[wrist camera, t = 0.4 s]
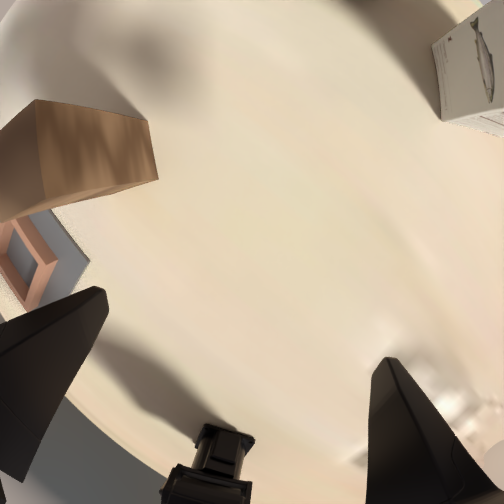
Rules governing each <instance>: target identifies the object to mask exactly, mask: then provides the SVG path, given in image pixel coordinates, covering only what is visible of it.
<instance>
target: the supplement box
mask: <svg viewBox="0 0 504 504" xmlns="http://www.w3.org/2000/svg"><path fill="white" fill-rule="evenodd" d="M431 47H432V51H433V55H434V59H435V64H436V69H437V75H438V83H439V92H440V103H441V121H442V122H447V123H451V124H455V125H459V126H463V127H467V128H470V129H474V130H477V131H481V132H484V133H487V134H490V135H493V136H496V137H504V0H492V1H490V2H489V3H487V4H486V5H484V6H483V7H482V8H480V9H479V10H477V11H476V12H475V13H473V14H472V15H471V16H469V17H468V18H467V19H465V20H464V21H463V22H461V23H460V24H459V25H457V26H456V27H455V28H453V29H452V30H451V31H449V32H448V33H447V34H445V35H444V36H443V37H441V38H440V39H439V40H438V41H436V42H435V43H434V44H433V45H432V46H431Z"/></svg>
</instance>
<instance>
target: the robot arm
mask: <svg viewBox="0 0 504 504" xmlns="http://www.w3.org/2000/svg"><path fill="white" fill-rule="evenodd" d="M108 313H109V305H108V300H107V294H106V291H105V290H104V289H103V288H100V287H97V286H92V287H90V288H87V289H85V290H82V291H79V292H77V293H74V294H72V295H69V296H67V297H64V298H62V299H59V300H57V301H55V302H52V303H50V304H47V305H45V306H42V307H40V308H37V309H35V310H33V311H30V312H28V313H25V314H23V315H21V316H18V317H16V318H13V319H11V320H9V321H8V322H7V321H6V322H4V323H2V324H0V470H1V471H3V472H4V473H6V474H8V475H9V476H11V477H12V478H14V479H16V480H18V481H19V482H21V483H23V481H24V479H25V477H26V474H27V472H28V470H29V467H30V465H31V463H32V460H33V458H34V456H35V454H36V451H37V449H38V447H39V445H40V443H41V440H42V438H43V436H44V434H45V432H46V430H47V428H48V426H49V424H50V422H51V420H52V418H53V416H54V414H55V412H56V410H57V408H58V406H59V405H60V403H61V401H62V399H63V397H64V395H65V394H66V392H67V390H68V388H69V386H70V385H71V383H72V381H73V379H74V378H75V376H76V374H77V372H78V371H79V369H80V367H81V365H82V364H83V362H84V360H85V359H86V357H87V355H88V354H89V352H90V350H91V348H92V346H93V344H94V342H95V340H96V338H97V336H98V334H99V332H100V330H101V328H102V326H103V324H104V322H105V320H106V318H107V316H108ZM254 444H255V439H253V438H250V437H247V436H243V435H240V434H236V433H233V432H230V431H227V430H224V429H221V428H218V427H215V426H212V425H209V424H204V425H203V428H202V430H201V432H200V435H199V437H198V440H197V442H196V444H195V448H196V449H198V450H197V453H196V455H195V458H194V461H193V464H192V467H191V468H189V467H186V466H183V465H182V464H179V463H178V464H177V466H176V467H175V468H172V470H171V472H170V475H169V477H168V479H167V480H166V482H165V483H164V484H163V486H162V487H161V489H160V490H159V494H160V495H161V500H162V501H161V504H250V499H251V490H252V481H242V480H239V478H240V474H241V469H242V464H243V460H244V457H245V456H246V454H247V453H248V452H249V450H250V449H251V448H252V446H253V445H254ZM5 503H6V498H5V494H4V491H3V487H2V483H1V479H0V504H5ZM365 504H504V491H502V490H501V489H499V488H498V487H497V486H496V485H495V484H494V483H493V482H492V481H491V480H490V479H489V477H488V476H487V475H486V474H485V473H484V471H483V470H482V469H481V468H480V466H479V465H478V464H477V463H476V462H475V460H474V459H473V458H472V457H471V455H470V454H469V453H468V452H467V450H466V449H465V447H464V446H463V445H462V443H461V442H460V441H459V439H458V438H457V436H455V434H454V432H453V431H452V430H451V428H450V427H449V425H448V424H447V423H446V421H445V420H444V419H443V417H442V416H441V415H440V413H439V412H438V410H437V409H436V408H435V406H434V405H433V404H432V402H431V401H430V400H429V399H428V397H427V396H426V395H425V393H424V392H423V391H422V389H421V388H420V387H419V386H418V384H417V383H416V382H415V380H414V379H413V378H412V377H411V375H410V374H409V373H408V371H407V370H406V369H405V368H404V366H403V365H402V364H401V363H400V361H399V360H398V359H397V358H393V357H385V358H383V359H382V361H381V362H380V364H379V365H378V367H377V368H376V370H375V371H374V372H373V375H372V378H371V393H370V406H369V418H368V473H367V491H366V503H365Z"/></svg>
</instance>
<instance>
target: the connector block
mask: <svg viewBox="0 0 504 504" xmlns="http://www.w3.org/2000/svg"><path fill="white" fill-rule="evenodd" d="M158 179H159V178H158V173H157V169H156V164H155V159H154V153H153V148H152V143H151V137H150V132H149V126H148V121H144V120H141V119H137V118H133V117H128V116H124V115H120V114H116V113H111V112H106V111H102V110H97V109H92V108H87V107H82V106H76V105H70V104H65V103H58V102H52V101H45V100H37V99H35V100H34V101H32V102H31V103H30V104H29V105H28V106H26V107H25V108H24V109H23V110H22V111H21V112H20V113H18V114H17V115H16V116H15V117H14V118H13V119H12V120H11V121H10V122H9V123H8V124H6V125H5V126H4V127H3V128H2V129H1V130H0V223H4V222H7V221H10V220H13V219H16V218H20V217H23V216H26V215H30V214H33V213H37V212H40V211H44V210H48V209H51V208H55V207H59V206H63V205H67V204H71V203H75V202H79V201H83V200H88V199H92V198H97V197H101V196H106V195H111V194H114V193H117V192H120V191H123V190H126V189H129V188H132V187H135V186H138V185H142V184H145V183H148V182H151V181H155V180H158Z"/></svg>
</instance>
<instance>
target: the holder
mask: <svg viewBox="0 0 504 504" xmlns="http://www.w3.org/2000/svg"><path fill="white" fill-rule="evenodd" d="M89 263H90V260H89V259H88V258H87V256H86V255H85V254H84V253H83V252H82V250H81V249H80V248H79V247H78V245H77V244H76V243H75V242H74V240H73V239H72V238H71V236H70V235H69V234H68V232H67V231H66V230H65V229H64V227H63V226H62V225H61V223H60V222H59V220H58V219H57V218H56V216H55V215H54V214H53V212H52V211H51V209H48V210H44V211H40V212H37V213H33V214H30V215H26V216H23V217H20V218H16V219H13V220H10V221H7V222H4V223H0V272H1V274H2V276H3V277H4V279H5V280H6V282H7V284H8V285H9V287H10V288H11V290H12V291H13V293H14V294H15V296H16V297H17V299H18V300H19V301H20V303H21V304H22V306H23V307H24V308H25V310H26V311H27V313H28V312H30V311H33V310H35V309H37V308H40V307H42V306H45V305H47V304H50V303H52V302H55V301H57V300H59V299H62V298H64V297H67V296H69V295H71V293H72V291H73V289H74V288H75V286H76V284H77V283H78V281H79V279H80V277H81V276H82V274H83V272H84V271H85V269H86V267H87V266H88V264H89Z"/></svg>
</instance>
